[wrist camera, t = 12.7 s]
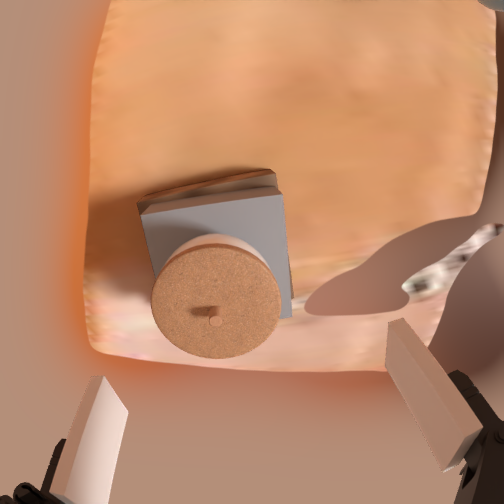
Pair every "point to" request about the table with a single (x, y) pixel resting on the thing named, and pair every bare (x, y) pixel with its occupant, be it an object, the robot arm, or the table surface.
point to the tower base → (214, 191)
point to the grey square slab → (224, 228)
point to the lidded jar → (216, 297)
